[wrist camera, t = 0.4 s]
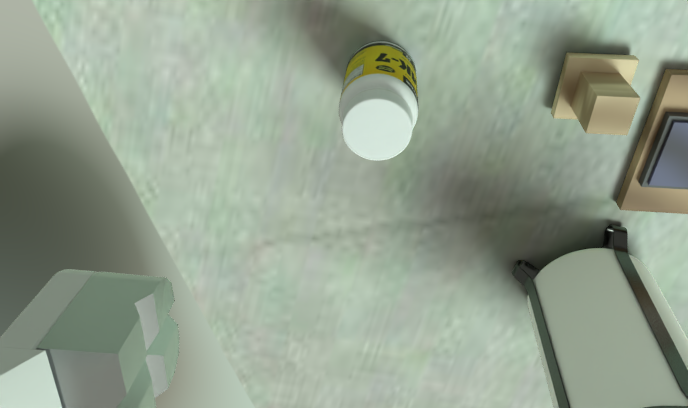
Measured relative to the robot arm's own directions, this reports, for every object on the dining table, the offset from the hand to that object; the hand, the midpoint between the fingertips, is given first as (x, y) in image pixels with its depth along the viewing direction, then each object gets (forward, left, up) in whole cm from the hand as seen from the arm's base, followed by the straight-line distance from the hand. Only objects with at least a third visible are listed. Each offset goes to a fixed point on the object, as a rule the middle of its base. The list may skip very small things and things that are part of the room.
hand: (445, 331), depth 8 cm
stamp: (+12, +16, -38) cm, 43 cm away
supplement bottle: (+12, -1, -39) cm, 40 cm away
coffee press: (+34, +22, -38) cm, 56 cm away
